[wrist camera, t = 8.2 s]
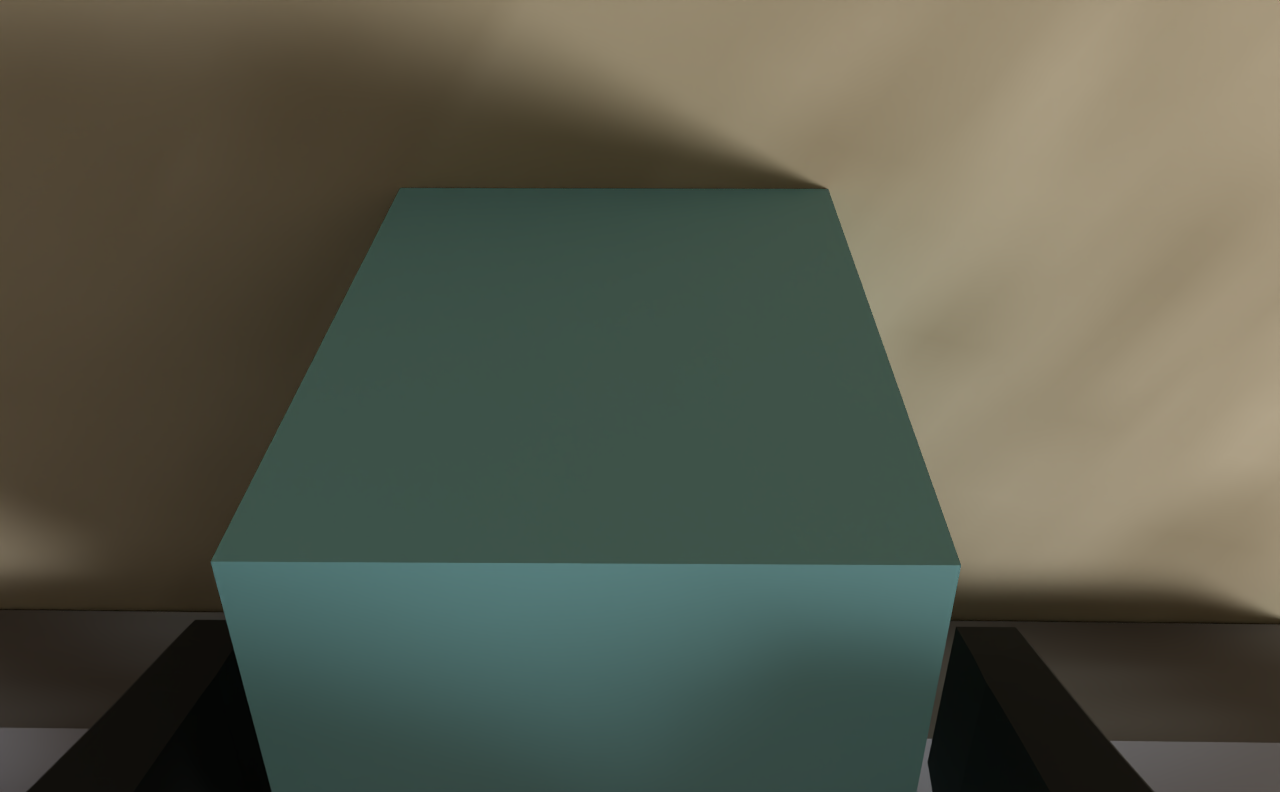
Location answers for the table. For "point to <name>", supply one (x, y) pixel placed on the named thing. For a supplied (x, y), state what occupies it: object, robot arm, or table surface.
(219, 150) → the table surface
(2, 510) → the table surface
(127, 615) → the brown wooden ledge block
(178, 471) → the table surface
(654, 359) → the teal rectangular block
